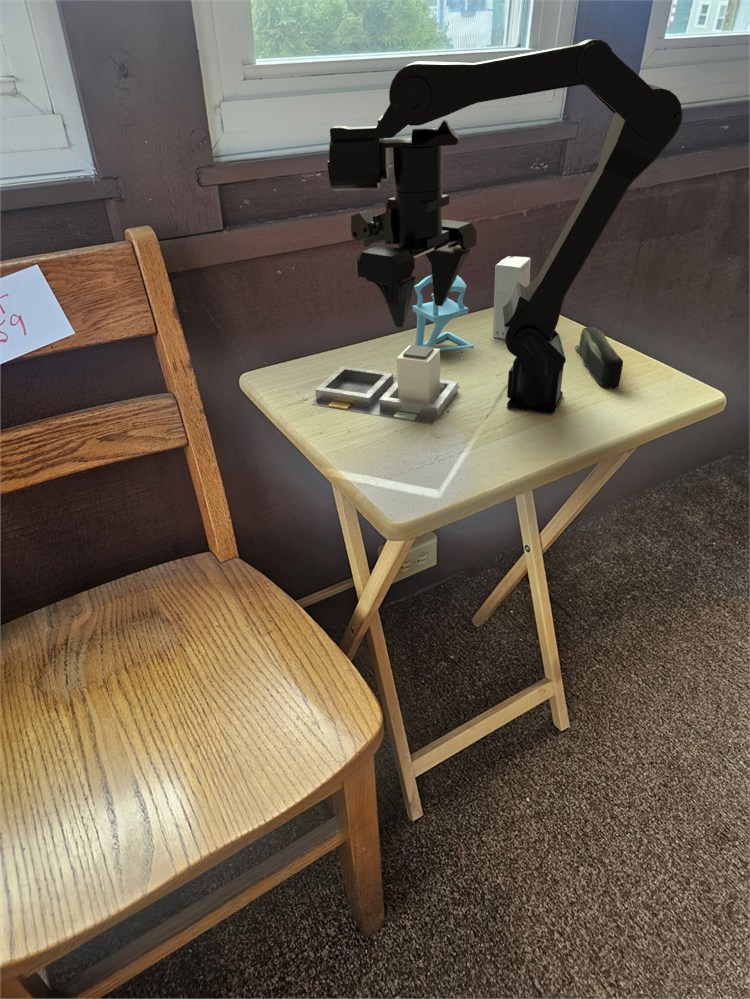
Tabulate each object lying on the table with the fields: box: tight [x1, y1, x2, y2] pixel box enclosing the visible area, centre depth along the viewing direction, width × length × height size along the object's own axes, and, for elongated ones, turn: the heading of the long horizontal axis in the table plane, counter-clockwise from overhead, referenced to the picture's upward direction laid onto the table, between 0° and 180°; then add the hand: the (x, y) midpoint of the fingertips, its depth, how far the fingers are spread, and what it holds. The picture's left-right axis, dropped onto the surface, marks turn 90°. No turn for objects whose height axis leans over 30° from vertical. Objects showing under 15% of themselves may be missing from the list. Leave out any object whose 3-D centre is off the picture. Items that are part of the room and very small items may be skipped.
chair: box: [412, 274, 474, 352], centre depth 107 cm, size 8×8×12 cm
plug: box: [396, 344, 441, 404], centre depth 92 cm, size 5×4×7 cm
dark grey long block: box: [574, 326, 624, 389], centre depth 100 cm, size 5×3×15 cm
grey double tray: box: [311, 365, 461, 425], centre depth 96 cm, size 18×12×2 cm, turn 66°
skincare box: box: [492, 255, 532, 340], centre depth 111 cm, size 6×4×12 cm
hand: (420, 315), depth 89 cm, fingers open, 9 cm apart
